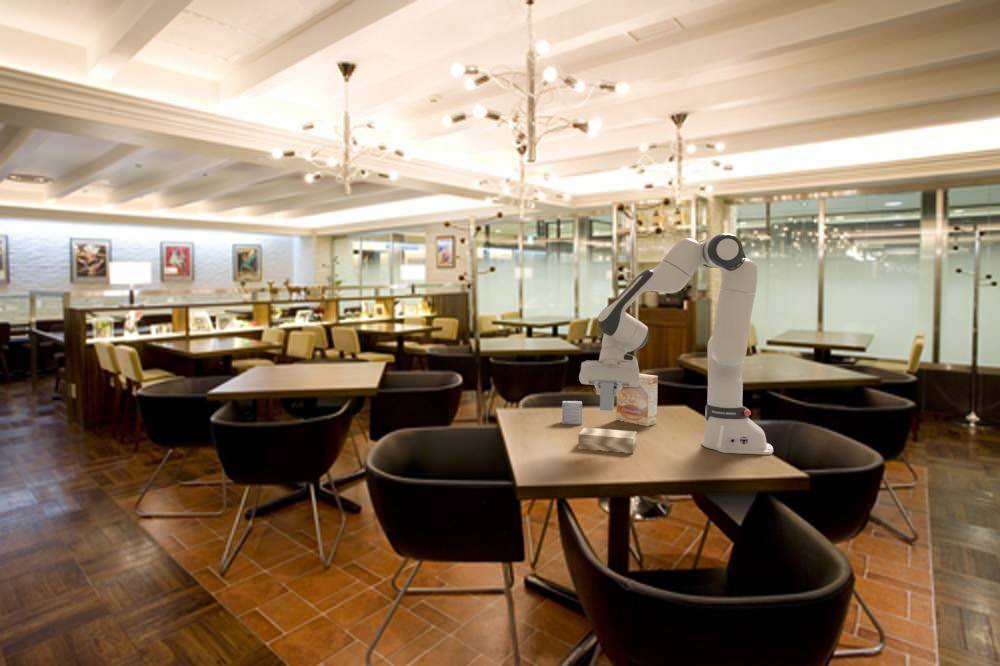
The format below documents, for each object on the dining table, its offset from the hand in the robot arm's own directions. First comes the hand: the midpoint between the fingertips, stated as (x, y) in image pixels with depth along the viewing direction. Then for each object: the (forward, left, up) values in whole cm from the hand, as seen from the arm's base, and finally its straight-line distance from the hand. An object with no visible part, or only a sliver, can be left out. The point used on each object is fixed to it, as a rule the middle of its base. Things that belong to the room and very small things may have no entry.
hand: (606, 394), depth 191 cm
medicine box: (+19, -34, -19) cm, 43 cm away
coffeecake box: (-5, -45, -19) cm, 49 cm away
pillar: (0, -1, -5) cm, 5 cm away
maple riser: (0, -3, -19) cm, 19 cm away
